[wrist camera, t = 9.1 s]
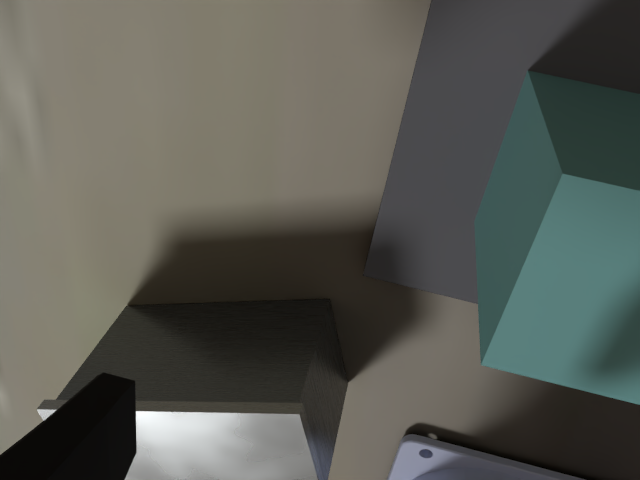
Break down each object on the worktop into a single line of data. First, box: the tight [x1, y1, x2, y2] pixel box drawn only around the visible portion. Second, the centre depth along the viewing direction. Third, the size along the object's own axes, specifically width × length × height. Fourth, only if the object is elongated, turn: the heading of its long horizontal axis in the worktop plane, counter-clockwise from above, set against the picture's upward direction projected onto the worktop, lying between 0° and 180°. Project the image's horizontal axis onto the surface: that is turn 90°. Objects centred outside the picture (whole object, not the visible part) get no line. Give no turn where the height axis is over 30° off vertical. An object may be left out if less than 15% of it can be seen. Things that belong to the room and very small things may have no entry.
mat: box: [363, 0, 640, 304], centre depth 16 cm, size 10×10×1 cm
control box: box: [37, 299, 348, 480], centre depth 20 cm, size 8×4×5 cm, turn 101°
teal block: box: [474, 70, 640, 405], centre depth 13 cm, size 4×4×6 cm
